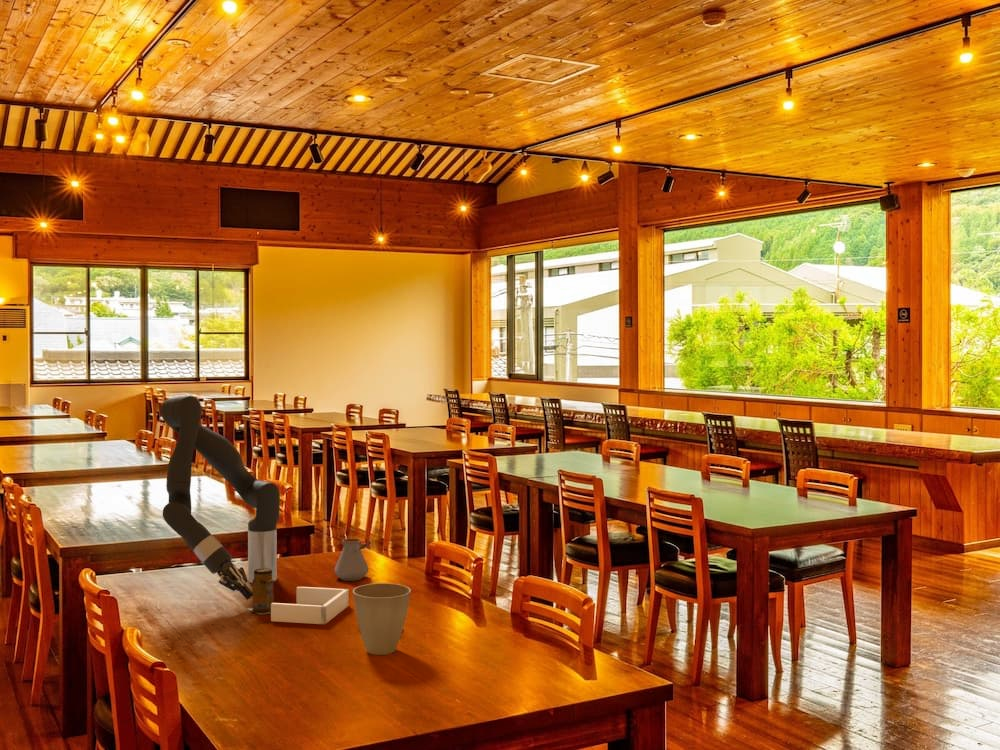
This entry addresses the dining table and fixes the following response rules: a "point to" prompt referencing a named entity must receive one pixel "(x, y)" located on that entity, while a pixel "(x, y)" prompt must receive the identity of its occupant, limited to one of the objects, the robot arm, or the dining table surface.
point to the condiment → (262, 591)
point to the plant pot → (381, 615)
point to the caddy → (312, 606)
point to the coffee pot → (352, 561)
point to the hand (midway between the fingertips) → (250, 597)
